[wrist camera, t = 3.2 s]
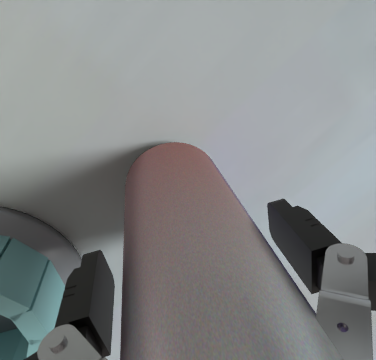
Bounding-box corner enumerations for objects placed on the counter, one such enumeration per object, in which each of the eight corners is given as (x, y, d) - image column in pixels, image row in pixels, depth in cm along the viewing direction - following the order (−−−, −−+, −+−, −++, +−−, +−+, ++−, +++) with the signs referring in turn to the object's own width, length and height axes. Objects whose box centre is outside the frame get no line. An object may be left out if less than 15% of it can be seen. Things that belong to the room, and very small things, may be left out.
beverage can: (233, 179, 20) (444, 468, 6) (170, 234, 21) (243, 579, 8) (173, 118, 17) (321, 390, 4) (105, 185, 18) (41, 575, 5)
